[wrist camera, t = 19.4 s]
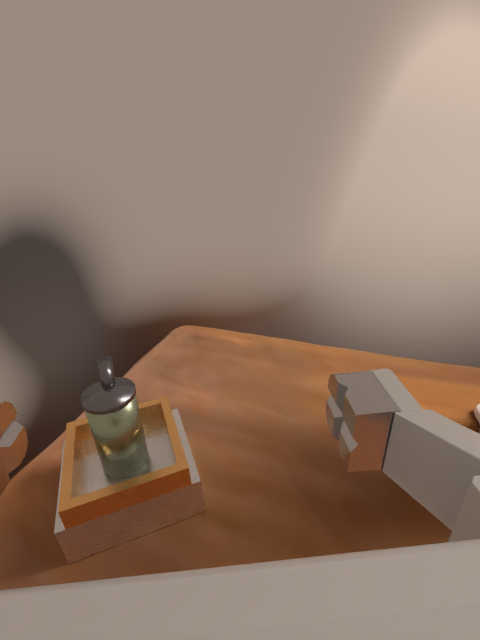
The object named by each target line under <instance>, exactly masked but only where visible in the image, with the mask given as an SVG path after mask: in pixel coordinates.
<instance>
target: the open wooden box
mask: <svg viewBox="0 0 480 640" xmlns="http://www.w3.org/2000/svg"><path fill="white" fill-rule="evenodd" d="M138 407H139V411H140V416H141V421H142V425H143V430H144V434H145V439H146V443H147V448H148V452H149V457H148V460H147V463H146V464H145V466H144V467H143V468H142V469H141V470H140V471H138V472H137V473H135V474H134V475H132V476H129V477H126V478H120V479H117V478H111V477H109V476H107V475H106V474H105V473H104V471H103V468H102V464H101V461H100V458H99V455H98V451H97V448H96V445H95V442H94V438H93V435H92V432H91V429H90V425H89V422H88V419H87V418H84V419H81V420H77V421H73V422H70V423H67V427H66V437H65V441H64V443H63V452H62V462H61V471H60V481H59V490H58V500H57V510H56V519H55V529H54V535H55V537H56V539H57V541H58V543H59V545H60V547H61V549H62V551H63V553H64V555H65V557H66V559H67V561H68V563H69V564H71V563H73V562H76V561H78V560H81V559H84V558H86V557H89V556H91V555H94V554H96V553H99V552H102V551H104V550H107V549H109V548H112V547H114V546H117V545H120V544H122V543H125V542H127V541H130V540H132V539H135V538H138V537H140V536H143V535H145V534H148V533H150V532H153V531H156V530H158V529H161V528H163V527H166V526H168V525H171V524H174V523H176V522H179V521H181V520H184V519H186V518H189V517H192V516H194V515H197V514H199V513H202V512H205V505H204V498H203V491H202V484H201V479H200V476H199V473H198V470H197V467H196V464H195V461H194V458H193V455H192V452H191V449H190V446H189V443H188V440H187V437H186V434H185V431H184V428H183V424H182V421H181V418H180V415H179V412H178V409H174V410H171V407H170V404H169V400H168V397H167V396H165V397H162V398H158V399H154V400H150V401H147V402H143V403H139V404H138Z"/></svg>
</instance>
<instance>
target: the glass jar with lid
mask: <svg viewBox="0 0 480 640" xmlns="http://www.w3.org/2000/svg"><path fill="white" fill-rule="evenodd" d="M97 361H98V367H99V373H100V380H101V381H99V382H96V383H94V384H93V385H91V386H90V387H89V388H87V389H86V390H85V391H84V393H83V394H82V396H81V403H82V407H83V409H84V410H85V413H86V416H87V419H88V422H89V425H90V429H91V432H92V435H93V438H94V442H95V445H96V448H97V451H98V455H99V458H100V461H101V464H102V468H103V471H104V473H105V474H106V475H107V476H109V477H111V478H117V479H120V478H126V477H129V476H132V475H134V474H135V473H137V472H138V471H140V470H141V469H142V468H143V467H144V466H145V464H146V463H147V460H148V457H149V452H148V448H147V443H146V439H145V434H144V430H143V425H142V421H141V416H140V411H139V407H138V402H137V398H136V388H135V384H134V383H133V381H131V380H130V379H127V378H123V377H114V371H113V365H112V360H111V356H103V357H100V358H98V359H97Z"/></svg>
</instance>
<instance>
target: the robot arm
mask: <svg viewBox="0 0 480 640" xmlns="http://www.w3.org/2000/svg"><path fill="white" fill-rule="evenodd" d="M328 388H329V390H330V392H331V396H330V397H329V399H328V400H327V406H326V413H327V421H328V425H329V429H330V431H331V434H332V436H333V437H334V438H336V439H337V440H338V441H339V448H338V451H339V453H340V455H341V458H342V460H343V462H344V465H345V467H346V469H347V472H358V471H373V470H383V471H382V472H383V473H385V474H386V475H387V476H388V477H389V478H390V479H392V480H393V481H394V482H395V483H396V484H397V485H399V486H400V487H401V488H402V489H403V490H405V491H406V492H407V493H408V494H409V495H410V496H412V497H413V498H414V499H415V500H416V501H417V502H419V503H420V504H421V505H422V506H423V507H424V508H426V509H427V510H428V511H429V512H430V513H431V514H433V515H434V516H435V517H436V518H437V519H438V520H440V521H441V522H442V523H443V524H444V525H446V526H447V527H448V528H449V529H450V530H451V531H452V533H451V535H450V538H449V541H448V542H445V543H436V544H427V545H417V546H408V547H399V548H389V549H380V550H371V551H361V552H352V553H343V554H333V555H324V556H315V557H306V558H296V559H287V560H278V561H269V562H259V563H250V564H241V565H232V566H223V567H213V568H204V569H195V570H186V571H176V572H167V573H158V574H149V575H139V576H130V577H121V578H111V579H102V580H93V581H83V582H74V583H64V584H55V585H46V586H36V587H27V588H18V589H8V590H0V640H480V431H479V433H477V432H475V431H473V430H471V429H468V428H466V427H464V426H462V425H460V424H458V423H456V422H454V421H452V420H450V419H448V418H446V417H444V416H442V415H440V414H438V413H436V412H434V411H432V410H430V409H426V410H423V408H422V407H421V406H420V405H419V404H418V402H417V401H416V400H415V399H414V398H413V396H412V395H411V394H410V393H409V391H408V390H407V389H406V388H405V387H404V385H403V384H402V383H401V382H400V380H399V379H398V378H397V377H396V376H395V374H394V373H393V372H392V371H391V370H389V369H387V368H386V369H377V370H368V371H364V372H353V373H341V374H331V375H330V377H329V382H328ZM16 415H17V412H16V410H15V408H14V406H13V404H12V403H9V402H6V401H3V402H0V496H1V494H2V493H3V491H4V490H5V488H6V486H7V485H8V483H9V481H10V480H9V475H8V473H9V472H11V471H12V470H13V469H15V468H16V467H17V466H19V465H20V463H21V461H22V460H23V458H24V456H25V453H26V449H27V444H28V442H27V434H26V432H25V429H24V427H23V426H21V425H20V424H18V423H17V422H15V421H14V420H15V418H16ZM474 415H475V417H476V419H477V420H478V422H479V424H480V404H478V405H477V406H476V408H475V409H474Z"/></svg>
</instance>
